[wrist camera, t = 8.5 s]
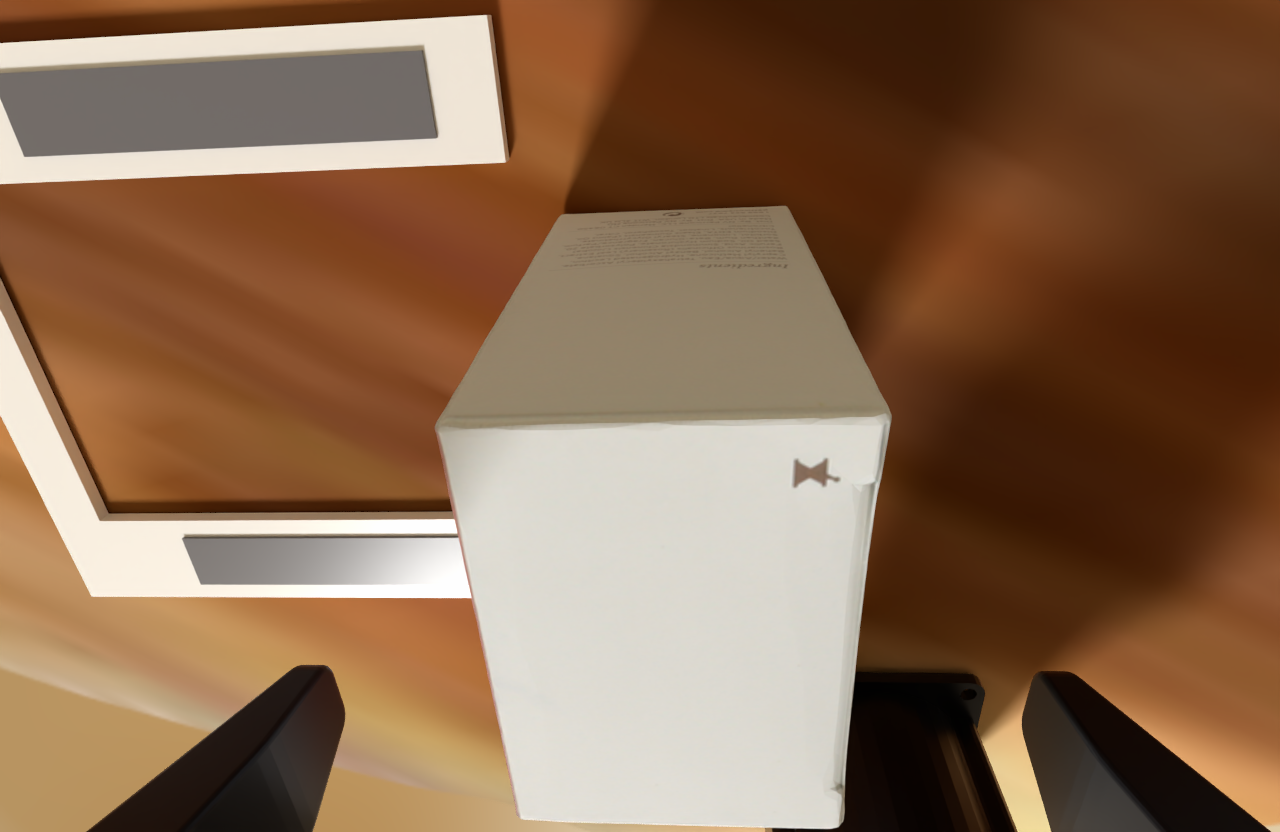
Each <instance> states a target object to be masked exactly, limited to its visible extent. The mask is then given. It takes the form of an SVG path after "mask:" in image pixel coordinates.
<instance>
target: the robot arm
mask: <svg viewBox="0 0 1280 832" xmlns="http://www.w3.org/2000/svg"><path fill="white" fill-rule="evenodd" d="M965 689H968V690H965ZM984 696H985V690H984V688H983V686H982V683H981V681H980V680H979V678H978V677H977V676H975V675H973V674H963V673H869V672H855V679H854V690H853V699H852V707H851V717H850V726H849V735H848V745H847V758H846V772H845V799H844V804H845V813H844V820H843V822H842V823H841V824H840V826H839V827H836V828H833V829H805V828H765V832H1017V829H1016V827H1015V824H1014V822H1013V819H1012V817H1011V814H1010V812H1009V809H1008V807H1007V804H1006V802H1005V799H1004V796H1003V794H1002V791H1001V789H1000V786H999V784H998V781H997V779H996V776H995V774H994V771H993V769H992V766H991V764H990V761H989V759H988V756H987V754H986V751H985V749H984V746H983V744H982V741H981V739H980V736H979V734H978V731H977V727H978V722H979V718H980V714H981V709H982V705H983V701H984ZM344 722H345V708H344V704H343V701H342V698H341V695H340V692H339V689H338V686H337V683H336V680H335V677H334V674H333V672H332V670H331V669H330V668H329V667H328V666H325V665H300V666H297V667H295V668H293V669H292V670H290V671H289V672H288V673H286V674H285V675H284V676H283V677H281V678H280V679H279V680H277V681H276V682H275V683H274V684H272V685H271V686H270V687H269V688H267V689H266V690H265V691H264V692H262V693H261V694H260V695H259V696H257V697H256V698H255V699H253V700H252V701H251V702H250V703H248V704H247V705H246V706H245V707H243V708H242V709H241V710H240V711H238V712H237V713H236V714H234V715H233V716H232V717H231V718H229V719H228V720H227V721H226V722H224V723H223V724H222V725H221V726H219V727H218V728H217V729H216V730H214V731H213V732H212V733H210V734H209V735H208V736H207V737H205V738H204V739H203V740H202V741H200V742H199V743H198V744H197V745H195V746H194V747H193V748H192V749H191V750H189V751H188V752H186V753H185V754H184V755H183V756H181V757H180V758H179V759H178V760H176V761H175V762H174V763H173V764H171V765H170V766H169V767H167V768H166V769H165V770H164V771H163V772H161V773H160V774H159V775H157V776H156V777H155V778H154V779H152V780H151V781H150V782H149V783H147V784H146V785H145V786H144V787H142V788H141V789H140V790H138V791H137V792H136V793H135V794H133V795H132V796H131V797H130V798H128V799H127V800H126V801H125V802H123V803H122V804H121V805H119V806H118V807H117V808H116V809H114V810H113V811H112V812H111V813H109V814H108V815H107V816H106V817H104V818H103V819H102V820H101V821H99V822H98V823H97V824H95V825H94V826H93V827H92V828H91V829H89V830H88V831H87V832H313V828H314V826H315V822H316V819H317V816H318V813H319V809H320V805H321V802H322V799H323V795H324V792H325V788H326V785H327V782H328V778H329V775H330V772H331V768H332V765H333V761H334V758H335V755H336V751H337V748H338V744H339V741H340V738H341V734H342V731H343V727H344ZM1022 730H1023V736H1024V740H1025V743H1026V746H1027V750H1028V753H1029V757H1030V760H1031V763H1032V767H1033V770H1034V774H1035V777H1036V780H1037V784H1038V787H1039V791H1040V794H1041V797H1042V801H1043V804H1044V808H1045V811H1046V814H1047V818H1048V821H1049V825H1050V828H1051V832H1271V831H1270V830H1268V829H1267V828H1266V827H1265V826H1263V825H1262V824H1261V823H1260V822H1258V821H1257V820H1256V819H1255V818H1253V817H1252V816H1251V815H1250V814H1248V813H1247V812H1246V811H1245V810H1243V809H1242V808H1241V807H1240V806H1238V805H1237V804H1236V803H1235V802H1234V801H1232V800H1231V799H1230V798H1229V797H1227V796H1226V795H1225V794H1224V793H1222V792H1221V791H1220V790H1219V789H1217V788H1216V787H1215V786H1214V785H1212V784H1211V783H1210V782H1209V781H1207V780H1206V779H1205V778H1204V777H1202V776H1201V775H1200V774H1199V773H1198V772H1196V771H1195V770H1194V769H1193V768H1191V767H1190V766H1189V765H1188V764H1186V763H1185V762H1184V761H1183V760H1181V759H1180V758H1179V757H1178V756H1176V755H1175V754H1174V753H1173V752H1171V751H1170V750H1169V749H1168V748H1166V747H1165V746H1164V745H1163V744H1161V743H1160V742H1159V741H1158V740H1157V739H1155V738H1154V737H1153V736H1152V735H1150V734H1149V733H1148V732H1147V731H1145V730H1144V729H1143V728H1142V727H1140V726H1139V725H1138V724H1137V723H1135V722H1134V721H1133V720H1132V719H1130V718H1129V717H1128V716H1127V715H1125V714H1124V713H1123V712H1122V711H1121V710H1119V709H1118V708H1117V707H1116V706H1114V705H1113V704H1112V703H1111V702H1109V701H1108V700H1107V699H1106V698H1104V697H1103V696H1102V695H1101V694H1099V693H1098V692H1097V691H1096V690H1094V689H1093V688H1092V687H1091V686H1089V685H1088V684H1087V683H1086V682H1085V681H1083V680H1082V679H1081V678H1080V677H1078V676H1077V675H1075V674H1073V673H1071V672H1065V671H1041V672H1038V673H1036V674H1035V675H1034V677H1033V679H1032V682H1031V686H1030V690H1029V693H1028V697H1027V701H1026V704H1025V708H1024V712H1023V716H1022Z"/></svg>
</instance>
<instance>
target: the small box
mask: <svg viewBox="0 0 1280 832" xmlns="http://www.w3.org/2000/svg"><path fill="white" fill-rule="evenodd" d="M891 419H892V416H891V413H890V410H889V407H888V405H887V404H886V402H885V400H884V398H883V397H882V395H881V393H880V391H879V389H878V387H877V385H876V383H875V381H874V379H873V377H872V375H871V372H870V370H869V369H868V367H867V365H866V363H865V361H864V359H863V357H862V355H861V353H860V351H859V349H858V347H857V345H856V343H855V341H854V339H853V337H852V335H851V333H850V331H849V329H848V327H847V324H846V322H845V320H844V318H843V316H842V314H841V312H840V310H839V308H838V306H837V304H836V302H835V300H834V298H833V296H832V294H831V292H830V290H829V287H828V285H827V283H826V281H825V279H824V277H823V275H822V273H821V271H820V269H819V268H818V265H817V263H816V261H815V259H814V258H813V255H812V253H811V251H810V250H809V247H808V245H807V243H806V241H805V239H804V237H803V235H802V233H801V231H800V229H799V228H798V226H797V224H796V222H795V220H794V218H793V216H792V214H791V212H790V210H789V209H788V207H787V206H769V207H743V208H715V209H689V210H660V211H635V212H612V213H586V214H563V215H561V216H560V217H559V218H558V219H557V221H556V223H555V224H554V226H553V228H552V229H551V231H550V232H549V234H548V236H547V237H546V239H545V241H544V243H543V244H542V246H541V248H540V250H539V251H538V253H537V254H536V256H535V257H534V259H533V261H532V263H531V264H530V266H529V268H528V270H527V271H526V273H525V275H524V276H523V278H522V280H521V282H520V283H519V285H518V286H517V288H516V290H515V291H514V293H513V294H512V296H511V298H510V300H509V301H508V303H507V305H506V307H505V308H504V310H503V312H502V313H501V314H500V316H499V318H498V320H497V322H496V323H495V325H494V327H493V328H492V330H491V331H490V333H489V335H488V336H487V338H486V340H485V341H484V343H483V345H482V346H481V348H480V350H479V352H478V353H477V355H476V357H475V359H474V361H473V363H472V364H471V366H470V368H469V369H468V371H467V373H466V374H465V376H464V378H463V380H462V381H461V383H460V384H459V386H458V387H457V389H456V391H455V392H454V394H453V396H452V397H451V399H450V401H449V403H448V405H447V406H446V408H445V410H444V411H443V413H442V414H441V416H440V418H439V419H438V421H437V422H436V425H435V431H436V435H437V439H438V443H439V447H440V452H441V457H442V462H443V466H444V471H445V476H446V481H447V486H448V491H449V497H450V502H451V506H452V511H453V515H454V520H455V524H456V529H457V533H458V538H459V542H460V547H461V551H462V556H463V561H464V566H465V571H466V575H467V580H468V585H469V589H470V594H471V599H472V603H473V608H474V612H475V616H476V620H477V624H478V630H479V635H480V640H481V645H482V649H483V654H484V658H485V662H486V667H487V674H488V678H489V682H490V686H491V691H492V696H493V701H494V706H495V710H496V715H497V719H498V723H499V728H500V733H501V738H502V744H503V749H504V753H505V758H506V763H507V768H508V773H509V778H510V782H511V787H512V792H513V796H514V801H515V807H516V814H517V816H518V817H519V818H521V819H524V820H542V821H556V822H579V823H619V824H651V825H688V826H725V827H763V828H805V829H833V828H836V827H839V826H840V824H841V823H842V822H843V820H844V813H845V804H844V799H845V772H846V758H847V745H848V735H849V726H850V717H851V707H852V699H853V690H854V679H855V669H856V659H857V650H858V641H859V633H860V624H861V615H862V607H863V599H864V591H865V582H866V573H867V564H868V555H869V550H870V543H871V536H872V529H873V521H874V513H875V506H876V500H877V494H878V489H879V485H880V481H881V477H882V471H883V465H884V459H885V453H886V447H887V441H888V436H889V430H890V424H891Z"/></svg>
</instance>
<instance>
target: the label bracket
mask: <svg viewBox="0 0 1280 832" xmlns="http://www.w3.org/2000/svg"><path fill="white" fill-rule="evenodd" d="M508 160H509V152H508V144H507V136H506V128H505V120H504V112H503V104H502V96H501V88H500V80H499V72H498V64H497V56H496V48H495V40H494V32H493V24H492V16H491V15H477V16H460V17H443V18H426V19H408V20H391V21H374V22H357V23H339V24H322V25H305V26H288V27H270V28H253V29H236V30H219V31H201V32H184V33H167V34H150V35H132V36H115V37H98V38H81V39H63V40H46V41H29V42H12V43H0V184H10V183H34V182H58V181H81V180H105V179H128V178H152V177H176V176H199V175H223V174H246V173H270V172H293V171H317V170H341V169H364V168H388V167H411V166H435V165H459V164H482V163H506V162H507V161H508ZM0 416H1V418H2V419H3V421H4V423H5V425H6V427H7V429H8V431H9V433H10V435H11V437H12V439H13V441H14V443H15V445H16V447H17V449H18V451H19V453H20V455H21V457H22V459H23V461H24V463H25V465H26V467H27V469H28V471H29V473H30V475H31V477H32V479H33V481H34V483H35V485H36V487H37V489H38V491H39V493H40V495H41V497H42V499H43V501H44V503H45V505H46V507H47V509H48V511H49V513H50V515H51V517H52V519H53V521H54V523H55V525H56V527H57V529H58V531H59V533H60V535H61V537H62V539H63V541H64V543H65V544H66V546H67V548H68V550H69V552H70V554H71V556H72V558H73V560H74V562H75V564H76V566H77V568H78V570H79V572H80V574H81V576H82V578H83V580H84V582H85V584H86V586H87V588H88V590H89V592H90V594H91V596H92V597H357V598H471V594H470V589H469V585H468V580H467V575H466V571H465V566H464V561H463V556H462V551H461V547H460V542H459V538H458V533H457V529H456V524H455V520H454V515H453V512H292V513H122V514H109V513H108V511H107V509H106V507H105V505H104V502H103V500H102V498H101V496H100V494H99V491H98V489H97V487H96V485H95V483H94V481H93V478H92V476H91V474H90V472H89V470H88V468H87V465H86V463H85V461H84V459H83V457H82V455H81V452H80V450H79V448H78V446H77V444H76V441H75V439H74V437H73V435H72V433H71V431H70V428H69V426H68V424H67V422H66V420H65V418H64V415H63V413H62V411H61V409H60V407H59V405H58V402H57V400H56V398H55V396H54V394H53V391H52V389H51V387H50V385H49V383H48V381H47V378H46V376H45V374H44V372H43V370H42V368H41V365H40V363H39V361H38V359H37V357H36V354H35V352H34V350H33V348H32V346H31V344H30V341H29V339H28V337H27V335H26V333H25V331H24V328H23V326H22V324H21V322H20V320H19V318H18V315H17V313H16V311H15V309H14V307H13V304H12V302H11V300H10V298H9V296H8V294H7V291H6V289H5V287H4V285H3V283H2V281H1V278H0Z"/></svg>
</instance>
